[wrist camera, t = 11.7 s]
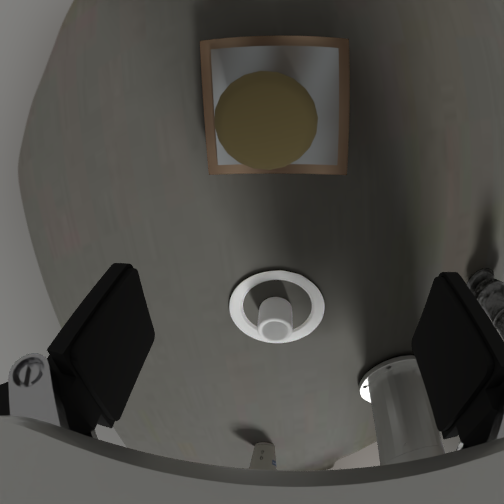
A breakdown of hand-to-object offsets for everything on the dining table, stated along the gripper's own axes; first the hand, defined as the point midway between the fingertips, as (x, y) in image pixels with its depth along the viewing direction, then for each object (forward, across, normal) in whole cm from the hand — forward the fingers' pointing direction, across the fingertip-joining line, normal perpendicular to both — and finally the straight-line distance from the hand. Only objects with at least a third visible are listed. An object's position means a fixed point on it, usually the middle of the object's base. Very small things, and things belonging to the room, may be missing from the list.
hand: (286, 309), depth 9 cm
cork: (+18, +1, -5) cm, 19 cm away
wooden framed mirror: (+23, +1, -5) cm, 23 cm away
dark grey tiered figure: (+24, -28, +15) cm, 40 cm away
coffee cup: (+24, +2, +63) cm, 67 cm away
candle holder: (+24, +1, +19) cm, 30 cm away
